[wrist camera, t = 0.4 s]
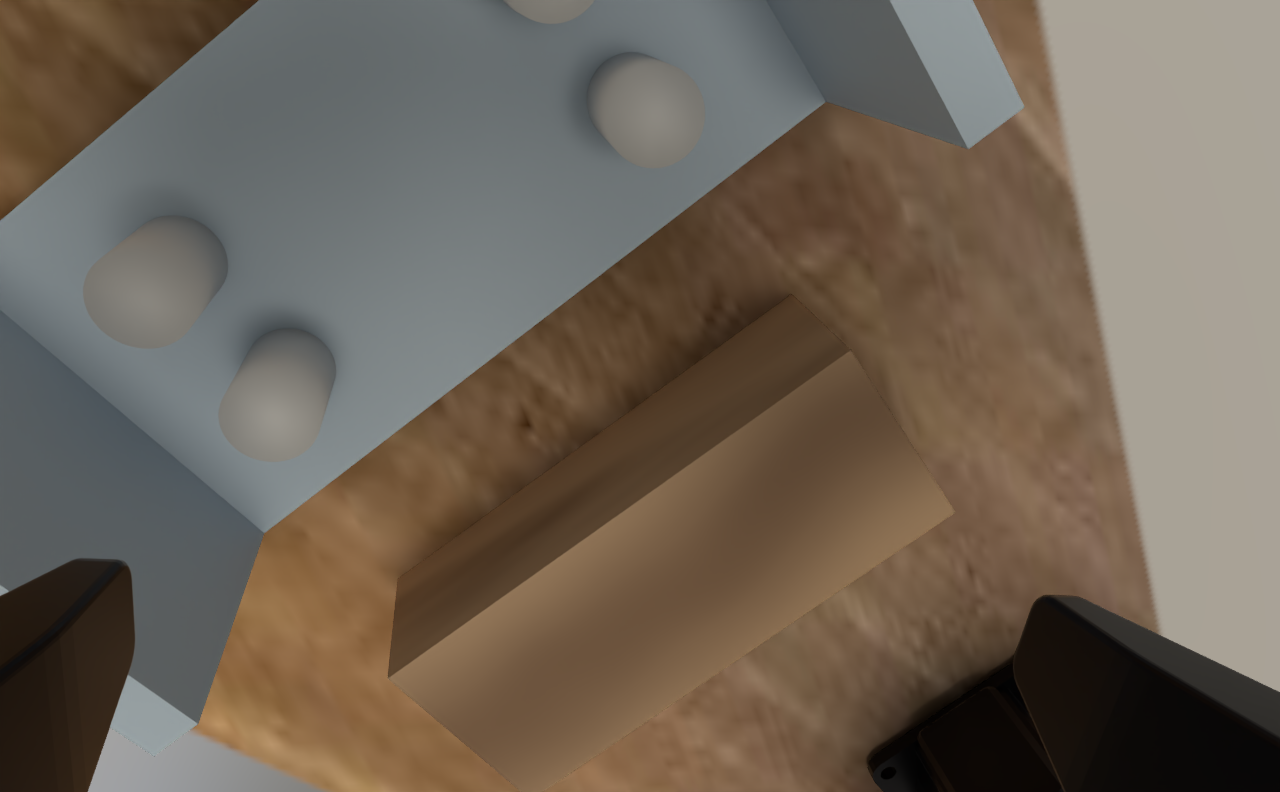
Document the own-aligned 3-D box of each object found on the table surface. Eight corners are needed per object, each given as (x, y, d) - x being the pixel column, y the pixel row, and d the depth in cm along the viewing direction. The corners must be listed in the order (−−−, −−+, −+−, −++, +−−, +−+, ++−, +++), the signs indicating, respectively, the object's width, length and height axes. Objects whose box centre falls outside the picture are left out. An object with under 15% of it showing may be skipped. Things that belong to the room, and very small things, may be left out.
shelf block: (882, 434, 25) (955, 511, 21) (520, 685, 26) (530, 800, 22) (787, 290, 22) (850, 349, 19) (398, 572, 24) (387, 678, 20)
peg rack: (847, 67, 20) (1024, 107, 14) (240, 535, 22) (153, 756, 16) (632, -311, 17) (737, -483, 10) (-64, 282, 19) (-328, 435, 12)
